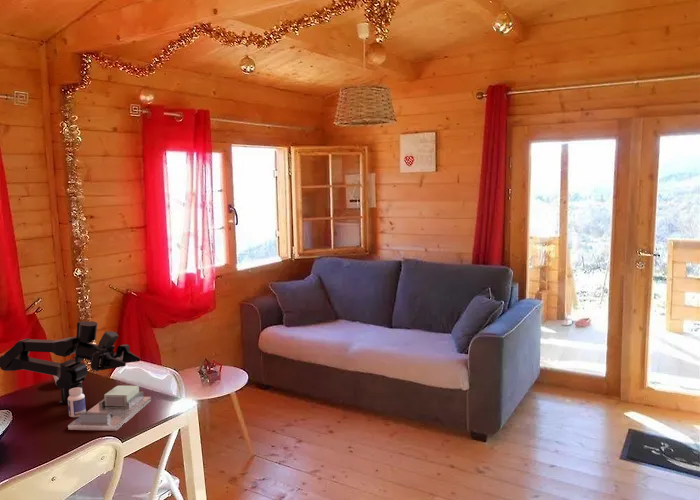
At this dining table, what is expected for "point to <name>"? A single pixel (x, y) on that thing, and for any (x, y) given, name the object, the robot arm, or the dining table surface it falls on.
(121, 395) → the block
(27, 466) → the dining table surface
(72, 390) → the pill bottle
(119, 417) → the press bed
